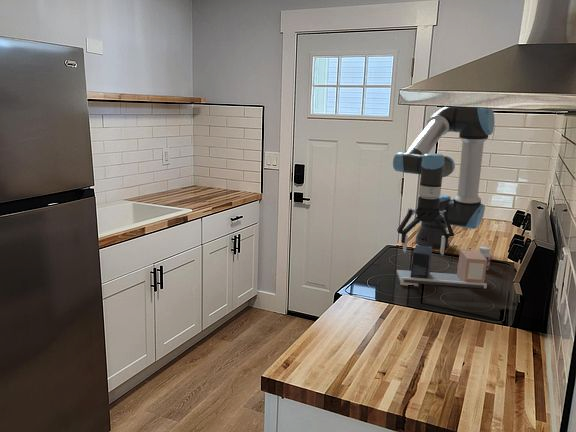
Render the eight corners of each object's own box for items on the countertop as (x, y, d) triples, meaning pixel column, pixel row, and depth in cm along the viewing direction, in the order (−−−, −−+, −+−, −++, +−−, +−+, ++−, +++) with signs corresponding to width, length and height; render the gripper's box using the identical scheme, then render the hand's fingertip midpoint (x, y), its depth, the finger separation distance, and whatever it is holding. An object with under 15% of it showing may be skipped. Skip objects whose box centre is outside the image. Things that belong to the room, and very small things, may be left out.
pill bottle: (489, 273, 191) (493, 250, 189) (475, 272, 192) (478, 249, 190) (487, 269, 196) (490, 246, 194) (473, 267, 197) (476, 245, 195)
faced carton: (456, 275, 184) (460, 250, 182) (475, 276, 184) (479, 251, 181) (463, 284, 174) (467, 258, 172) (483, 286, 174) (487, 260, 171)
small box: (412, 269, 188) (415, 244, 185) (429, 272, 186) (433, 246, 183) (409, 278, 178) (412, 251, 175) (427, 281, 176) (430, 254, 173)
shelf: (396, 272, 187) (397, 265, 187) (475, 278, 185) (476, 271, 184) (400, 285, 175) (401, 277, 174) (486, 291, 172) (487, 284, 172)
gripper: (395, 197, 172) (390, 253, 177) (467, 200, 170) (459, 257, 175) (392, 192, 179) (388, 247, 184) (461, 196, 177) (454, 251, 182)
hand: (423, 252), depth 180 cm, fingers open, 13 cm apart
